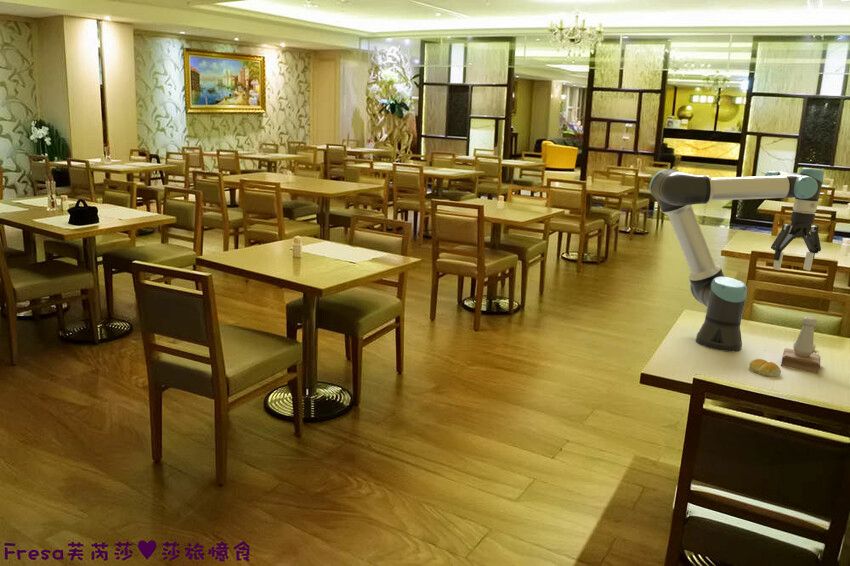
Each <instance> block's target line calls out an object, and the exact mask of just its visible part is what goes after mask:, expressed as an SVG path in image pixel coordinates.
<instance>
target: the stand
mask: <svg viewBox="0 0 850 566" xmlns="http://www.w3.org/2000/svg"><path fill="white" fill-rule="evenodd" d="M780 366H781V367H785V368H790V369H795V370H800V371H804V372H809V373H813V374H819V372H820V368H821V355H820V354H817V353H813V352H812V354H811V355H810V356H809V357H801V356H798V355H796V354H795V351H794V348H788V347H785V348H784V349H783V354H782V359H781V363H780Z"/></svg>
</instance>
